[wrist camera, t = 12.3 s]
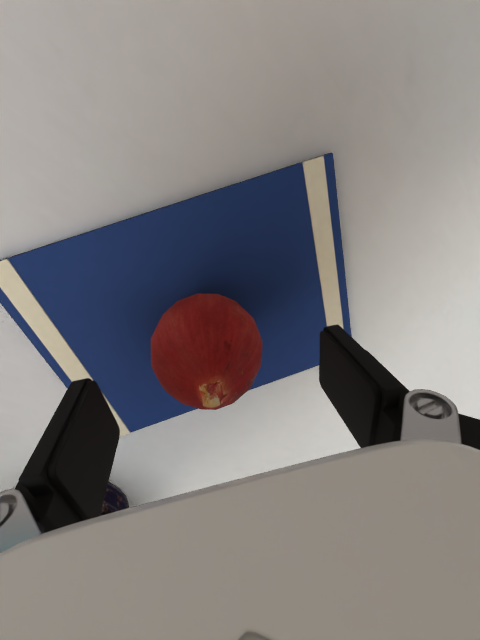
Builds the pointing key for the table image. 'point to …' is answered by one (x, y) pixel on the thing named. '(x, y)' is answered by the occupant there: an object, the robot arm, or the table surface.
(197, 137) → the table surface
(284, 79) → the table surface
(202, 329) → the onion
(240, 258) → the towel
